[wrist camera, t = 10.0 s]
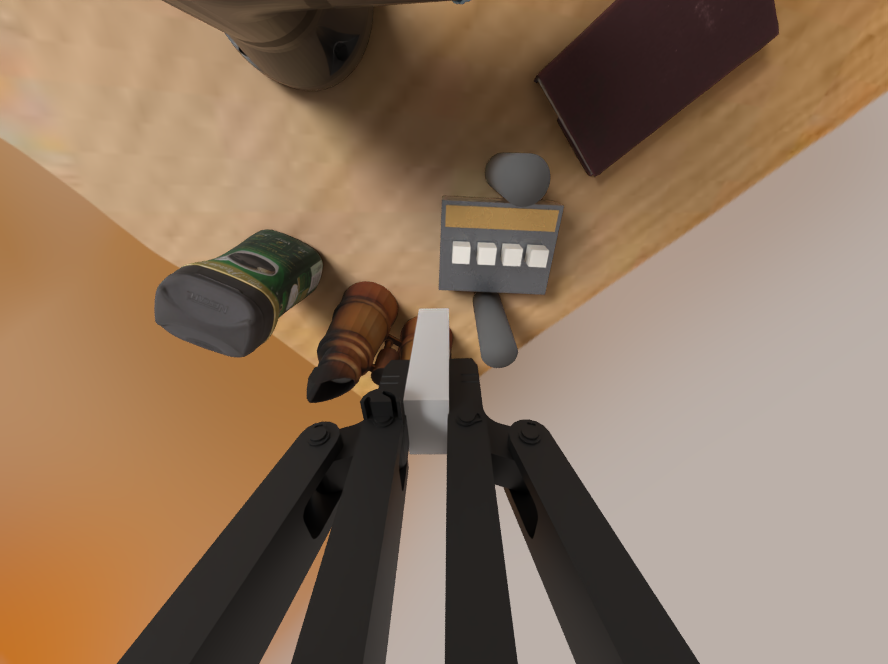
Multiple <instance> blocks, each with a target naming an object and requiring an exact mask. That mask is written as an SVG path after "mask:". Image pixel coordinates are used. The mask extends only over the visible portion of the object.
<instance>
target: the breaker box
mask: <svg viewBox="0 0 888 664" xmlns="http://www.w3.org/2000/svg"><path fill="white" fill-rule="evenodd" d="M563 208H564V206H563V205H561V204H559V203H557V202H555V201H544V200H539V201H538V202H537V203H535V204H533V205H531V206H528V207H518V206H515V205H513V204H511V203H510V202H509V201H507V200H506V199H501V198H480V197H459V196H443V197H442V214H441V242H440V270H439V290H454V291H476V292H499V293H521V294H543V295H545V292H546V287H547V282H548V278H549V273H550V268H551V264H552V259H553V254H554V250H555V245H556V240H557V236H558V231H559V227H560V222H561V217H562V213H563ZM453 241H463V242H470V246H471V249H470V261H469V264H456V263H452V249H453ZM478 242H485V243H495V245H496V247H497V251H496V259H495V265H478V263H477V259H476V256H477V245H478ZM503 243H507V244H519V245H520V246H521V247H522V249H523V253H522V259H521V265H520V266H503V264H502V262H501V260H500V259H501V251H502V244H503ZM527 244H529V245H544V246H545V247H546V248H547V249H548V250H549V254H548V259H547V264H546V268H544V267H529V266H528V265H527V263H526V262H525V255H526V249H527Z"/></svg>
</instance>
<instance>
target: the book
mask: <svg viewBox="0 0 888 664" xmlns="http://www.w3.org/2000/svg"><path fill="white" fill-rule="evenodd" d="M778 34H779V26H778V20H777V16H776V9H775V3H774V0H616V1H614V2H613V3H612V4H611V5H610V6H609V7H608V8H607V9H606V10H605V11H604V12H603V13H602V14H601V15H600V16H599V17H598V18H597V19H596V20H595V21H594V22H592V23H591V24H590V25H589V26H588V27H587V28H586V29H585V30H584V31H583V32H582V33H581V34H580V35H579V36H578V37H577V38H576V39H575V40H574V41H572V42H571V43H570V44H569V45H568V46H567V47H566V48H565V49H564V50H563V51H562V52H561V53H560V54H559V55H558V56H557V57H555V58H554V59H553V60H552V61H551V62H550V63H549V64H548V65H547V66H546V67H545V68H544V69H543V70H542V71H541V72H540V73H539V74H538V75H537V76H536V78H535V80H534V82H536V83H537V82H539V83H540V85H541V87H542V89H543V91H544V92H545V94H546V96H547V98H548V99H549V101H550V103H551V105H552V106H553V108H554V110H555V112H556V113H557V115H558V120H557V121H558V123H559V125H560V127H561V129H562V130H563V132H564V134H565V136H566V138H567V139H568V141H569V143H570V145H571V146H572V148H573V150H574V152H575V154H576V156H577V157H578V159H579V161H580V162H581V164H582V166H583V167H584V169H585V171H586V172H587V174H588V175H589V176H592V175H594V177H596V176H597V175H599V174H601V173H602V172H603V171H604V170H605V169H607V168H608V167H609V166H610V165H612V164H613V163H614V162H616V161H617V160H618V159H619V158H621V157H622V156H623V155H625V154H626V153H627V152H628V151H630V150H631V149H632V148H633V147H635V146H636V145H637V144H639V143H640V142H641V141H642V140H644V139H645V138H646V137H648V136H649V135H650V134H652V133H653V132H654V131H655V130H657V129H658V128H659V127H661V126H662V125H663V124H664V123H666V122H667V121H668V120H669V119H671V118H672V117H673V116H674V115H676V114H677V113H678V112H679V111H681V110H682V109H683V108H684V107H686V106H687V105H688V104H690V103H691V102H692V101H694V100H695V99H696V98H698V97H699V96H700V95H702V94H703V93H704V92H705V91H707V90H708V89H709V88H711V87H712V86H713V85H714V84H716V83H717V82H718V81H720V80H721V79H722V78H723V77H725V76H726V75H727V74H728V73H730V72H731V71H732V70H733V69H735V68H736V67H737V66H739V65H740V64H741V63H743V62H744V61H745V60H747V59H748V58H749V57H751V56H752V55H754V54H755V53H756V52H758V51H759V50H760V49H761V48H763V47H764V46H765V45H766V44H767V43H769V42H770V41H771V40H772V39H774V38H775V37H776V36H777V35H778Z"/></svg>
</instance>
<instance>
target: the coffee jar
mask: <svg viewBox="0 0 888 664" xmlns="http://www.w3.org/2000/svg"><path fill="white" fill-rule="evenodd" d="M322 269H323V263H322V259H321V257H320V255H319V254H318V253H317V251H315V250H314V249H313V248H312V247H310V246H308V245H307V244H305V243H303V242H301V241H299V240H297V239H295V238H293V237H291V236H288V235H286V234H283V233H280V232H277V231H274V230H261V231H259V232H257V233H255V234H253V235H252V236H250V237H249V238H247V239H246V240H245V241H243V242H242V243H241V244H239V245H238V246H236V247H235V248H233V249H231V250H230V251H228V252H227V253H225V254H223V255H221V256H219V257H217V258H215V259H212V260H208V261H202V262H196V263H191V264H188V265H185V266H183V267H181V268H180V269H178V270H177V271H175V272H174V273H172V274H170V275H169V276H168V277H166V278H165V279H164V280H163V281H162V282H161V284H160V285H159V286H158V288H157V291H156V296H155V321H156V323H157V324H158V325H160V326H162V327H163V328H164V329H165V330H167V331H168V332H169V333H171V334H172V335H174V336H176V337H178V338H180V339H182V340H184V341H187V342H189V343H192V344H195V345H197V346H200V347H203V348H205V349H208V350H211V351H214V352H217V353H220V354H224V355H227V356H230V357H245V356H247V355H248V354H250V353H252V352H253V351H254V350H255V349H256V348H257V347H259V346H260V345H261V344H263V343H264V342H266V341H267V340H268V339H269V337H270V336H271V334H272V333H273V331H274V329H275V327H276V324H277V321H278V318H279V317H280V316H282V315H283V314H284V313H285V312H287V311H288V310H289V309H290V308H292V307H293V306H294V305H296V304H297V303H299V302H300V301H301V300H303V299H304V298H306V297H307V296H308V295H309V294H311V293H312V292H313V291H314V290H315V288H316V287H317V285H318V283H319V281H320V278H321V275H322Z"/></svg>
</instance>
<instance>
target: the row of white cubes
mask: <svg viewBox="0 0 888 664" xmlns="http://www.w3.org/2000/svg"><path fill="white" fill-rule="evenodd" d="M470 249H471V246H470V242H463V241H453V249H452V263H456V264H469V261H470ZM496 251H497V247H496V245H495V243H485V242H478V245H477V256H476V259H477V263H478V265H495V259H496ZM522 253H523V249H522V247H521V246H520V245H519V244H507V243H503V244H502V251H501V259H500V260H501V262H502V264H503V266H520V265H521V259H522ZM548 254H549V250H548V249H547V248H546V247H545V246H544V245H529V244H527V249H526V255H525V262H526V263H527V265H528V266H529V267H544V268H546V264H547V259H548Z"/></svg>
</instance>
